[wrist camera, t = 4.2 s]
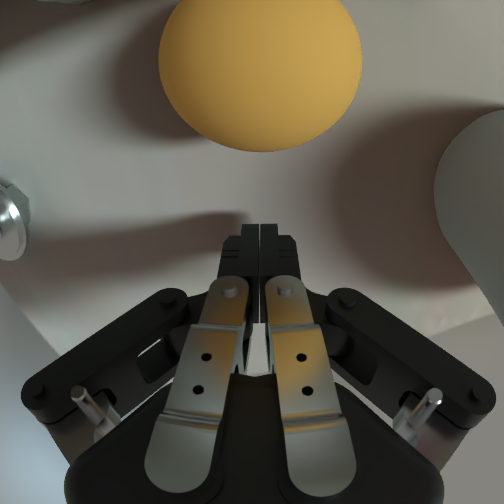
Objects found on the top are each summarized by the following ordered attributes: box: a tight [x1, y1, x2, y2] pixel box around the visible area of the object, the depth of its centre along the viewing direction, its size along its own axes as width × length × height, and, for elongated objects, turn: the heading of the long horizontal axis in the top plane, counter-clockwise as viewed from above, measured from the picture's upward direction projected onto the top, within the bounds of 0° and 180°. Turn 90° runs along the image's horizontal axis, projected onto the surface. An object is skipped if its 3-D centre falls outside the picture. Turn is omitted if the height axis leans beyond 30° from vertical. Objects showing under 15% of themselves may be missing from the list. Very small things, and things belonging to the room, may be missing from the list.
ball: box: [158, 0, 362, 152], centre depth 8 cm, size 6×6×6 cm
